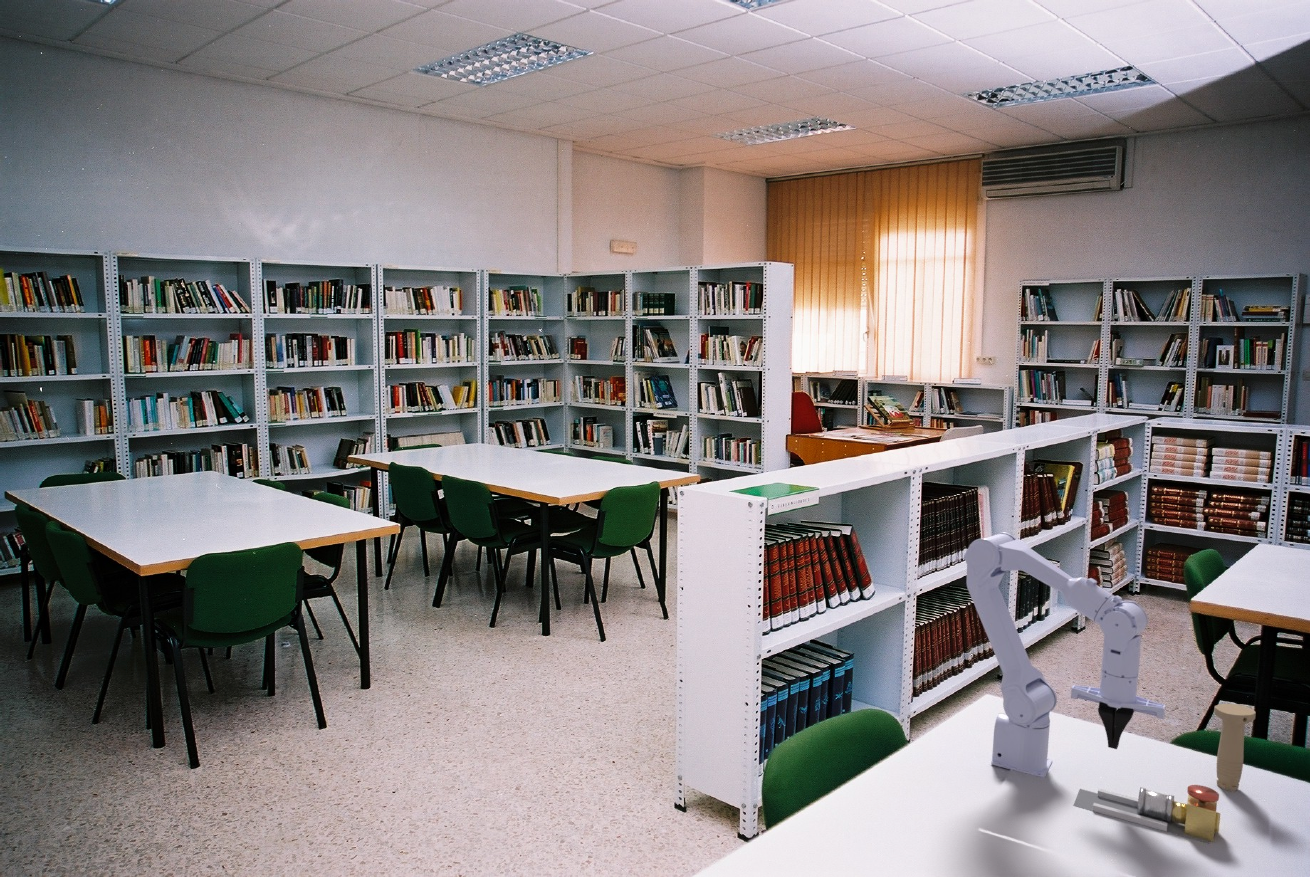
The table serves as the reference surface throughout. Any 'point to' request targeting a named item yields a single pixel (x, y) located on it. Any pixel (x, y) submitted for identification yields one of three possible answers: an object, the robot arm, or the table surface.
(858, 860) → the table surface
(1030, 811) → the table surface
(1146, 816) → the grey railed tray
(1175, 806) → the valve
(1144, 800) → the coupling
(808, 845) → the table surface
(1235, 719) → the handle
